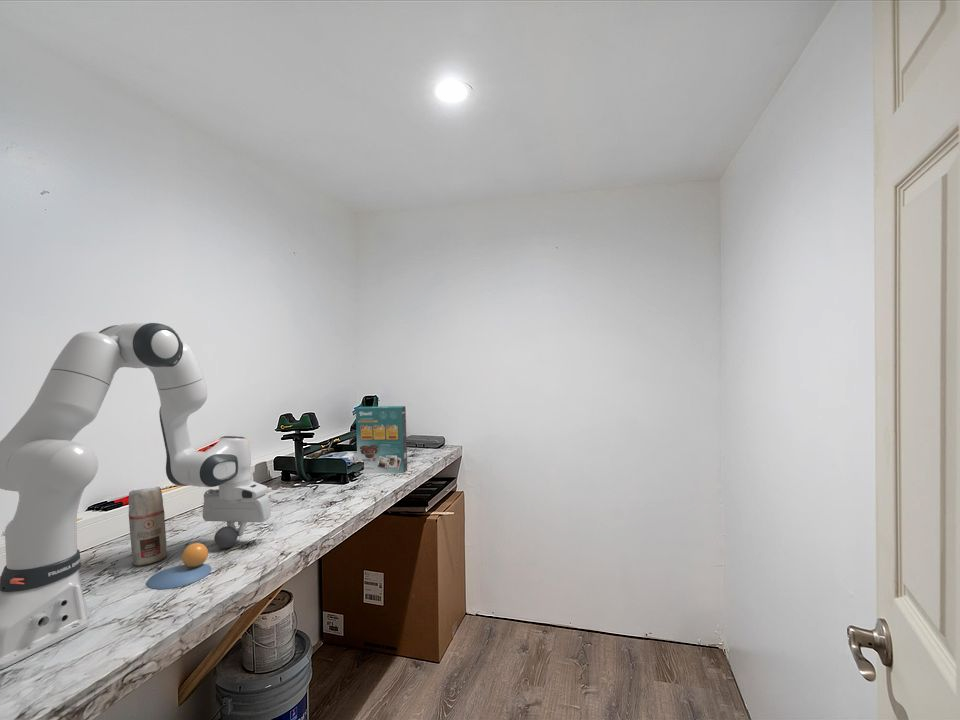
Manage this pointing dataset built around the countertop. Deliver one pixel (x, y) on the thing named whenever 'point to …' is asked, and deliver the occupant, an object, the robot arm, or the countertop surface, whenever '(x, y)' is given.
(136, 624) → the countertop surface
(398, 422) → the cake mix box
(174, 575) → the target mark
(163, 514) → the beige paper tall bag
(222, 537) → the black ball
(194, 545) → the orange ball
